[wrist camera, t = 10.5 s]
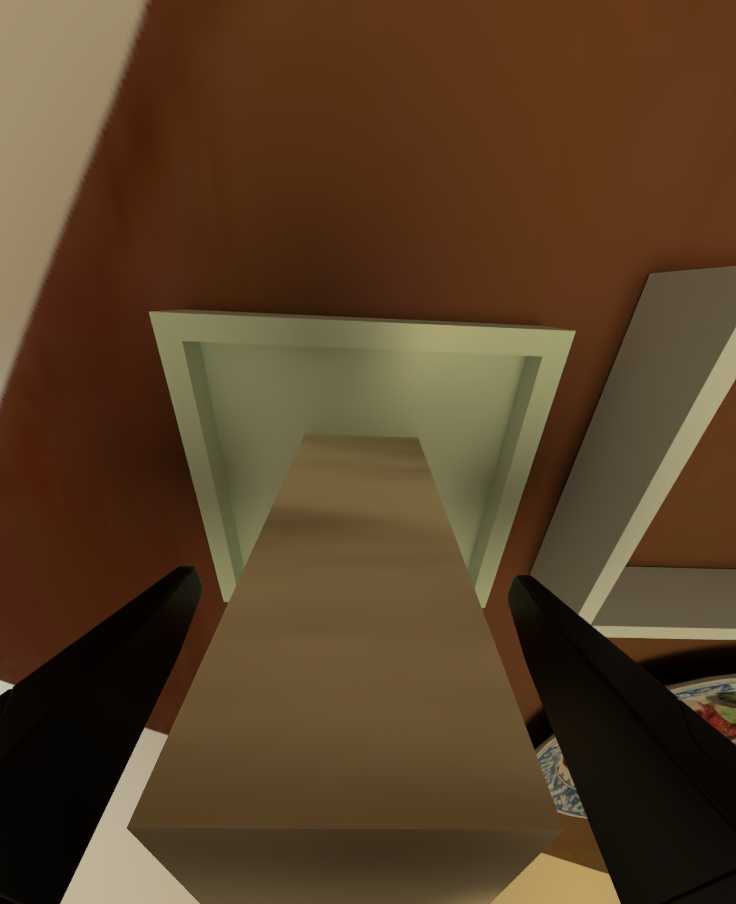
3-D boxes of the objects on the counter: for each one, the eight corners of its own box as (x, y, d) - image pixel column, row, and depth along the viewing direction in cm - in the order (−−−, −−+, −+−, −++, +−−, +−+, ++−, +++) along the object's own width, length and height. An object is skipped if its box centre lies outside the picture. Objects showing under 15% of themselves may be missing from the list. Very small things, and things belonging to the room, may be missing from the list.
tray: (472, 575, 17) (484, 608, 15) (238, 569, 17) (223, 602, 15) (542, 325, 11) (575, 331, 9) (184, 309, 11) (148, 311, 9)
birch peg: (407, 525, 14) (477, 915, 5) (310, 523, 14) (212, 916, 5) (418, 437, 12) (564, 830, 3) (304, 433, 12) (126, 828, 3)
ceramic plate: (625, 805, 34) (646, 848, 32) (452, 749, 28) (461, 797, 25) (902, 709, 25) (967, 758, 22) (740, 587, 18) (805, 637, 15)
